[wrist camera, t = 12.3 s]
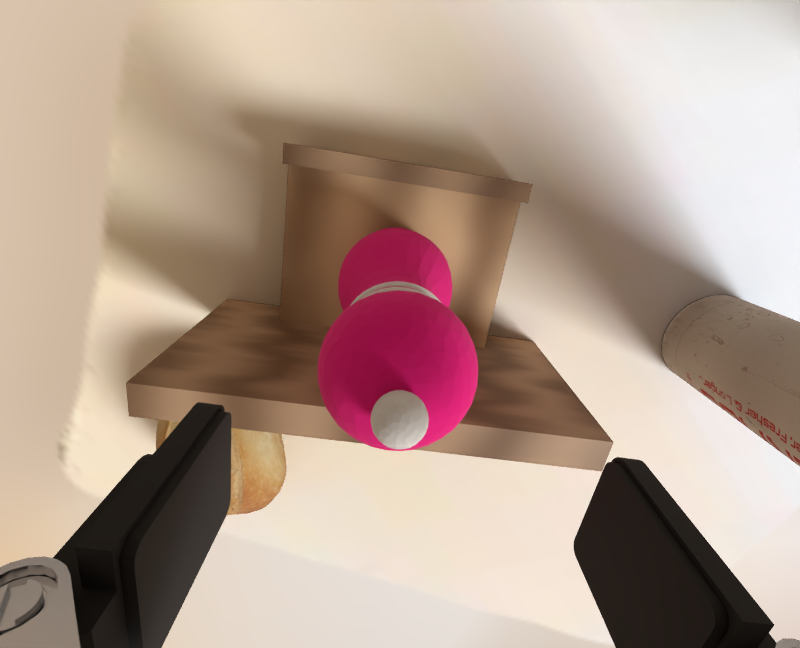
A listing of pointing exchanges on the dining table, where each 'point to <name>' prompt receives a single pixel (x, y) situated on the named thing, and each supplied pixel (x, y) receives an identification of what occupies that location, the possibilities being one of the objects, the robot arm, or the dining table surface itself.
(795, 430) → the thermos bottle
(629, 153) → the dining table surface
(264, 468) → the bread roll
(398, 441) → the pepper mill
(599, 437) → the wall shelf
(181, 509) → the robot arm
